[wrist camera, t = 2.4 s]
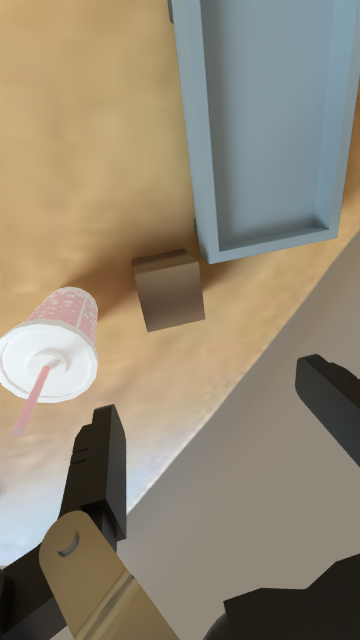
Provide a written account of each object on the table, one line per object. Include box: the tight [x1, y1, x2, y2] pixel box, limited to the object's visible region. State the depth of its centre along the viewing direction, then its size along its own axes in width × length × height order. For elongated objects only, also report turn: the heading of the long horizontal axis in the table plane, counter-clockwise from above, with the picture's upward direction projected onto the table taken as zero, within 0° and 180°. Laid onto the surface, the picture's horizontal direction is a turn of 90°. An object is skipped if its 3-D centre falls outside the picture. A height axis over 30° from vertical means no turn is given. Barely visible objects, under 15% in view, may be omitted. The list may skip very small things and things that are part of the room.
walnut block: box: [132, 249, 205, 332], centre depth 22 cm, size 5×5×5 cm
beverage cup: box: [0, 287, 98, 436], centre depth 18 cm, size 6×6×14 cm
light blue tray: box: [168, 0, 360, 264], centre depth 18 cm, size 18×11×4 cm, turn 9°
